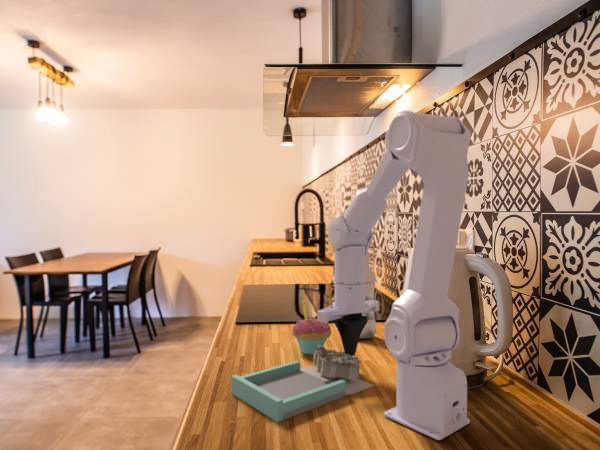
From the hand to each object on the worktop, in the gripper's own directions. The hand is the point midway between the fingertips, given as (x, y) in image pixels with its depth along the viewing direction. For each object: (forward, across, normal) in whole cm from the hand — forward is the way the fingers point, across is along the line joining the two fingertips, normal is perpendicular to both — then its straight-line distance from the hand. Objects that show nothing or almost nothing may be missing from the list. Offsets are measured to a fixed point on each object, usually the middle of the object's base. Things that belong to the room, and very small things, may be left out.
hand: (349, 354), depth 81 cm
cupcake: (+4, -3, -15) cm, 16 cm away
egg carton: (+4, +6, 0) cm, 7 cm away
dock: (+4, +12, 0) cm, 12 cm away
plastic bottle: (+4, -19, -15) cm, 25 cm away
